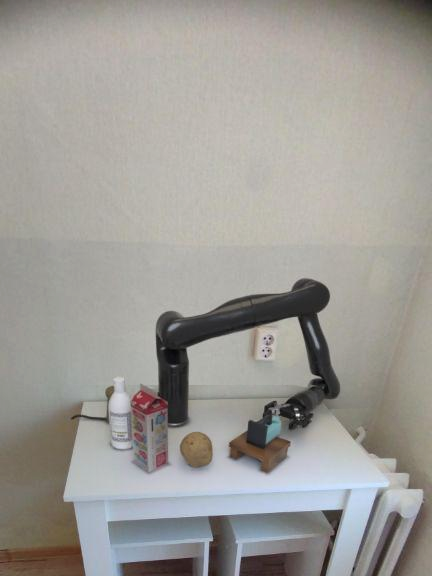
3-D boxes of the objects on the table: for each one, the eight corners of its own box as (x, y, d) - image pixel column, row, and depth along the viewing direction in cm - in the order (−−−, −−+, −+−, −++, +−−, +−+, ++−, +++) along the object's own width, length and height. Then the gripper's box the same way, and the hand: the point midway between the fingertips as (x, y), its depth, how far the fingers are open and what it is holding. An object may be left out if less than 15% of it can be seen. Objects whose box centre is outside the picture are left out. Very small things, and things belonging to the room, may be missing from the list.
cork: (121, 425, 143) (119, 392, 137) (103, 423, 144) (100, 390, 138) (128, 417, 148) (126, 385, 142) (110, 414, 149) (108, 382, 142)
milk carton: (152, 453, 130) (150, 380, 118) (168, 463, 127) (167, 389, 114) (133, 462, 127) (129, 386, 114) (148, 472, 123) (146, 395, 110)
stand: (250, 441, 139) (252, 426, 136) (288, 456, 133) (290, 441, 130) (227, 457, 131) (229, 442, 128) (267, 474, 125) (269, 458, 122)
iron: (267, 427, 137) (270, 405, 133) (284, 433, 134) (288, 411, 130) (246, 442, 129) (248, 419, 124) (263, 449, 126) (266, 426, 122)
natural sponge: (181, 455, 131) (181, 423, 125) (212, 457, 131) (214, 425, 125) (178, 472, 123) (178, 440, 118) (211, 475, 123) (213, 442, 118)
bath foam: (137, 448, 133) (134, 382, 121) (113, 451, 130) (108, 385, 119) (132, 436, 138) (129, 372, 126) (109, 439, 136) (103, 375, 124)
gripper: (283, 386, 146) (256, 403, 135) (325, 399, 139) (300, 418, 128) (280, 408, 150) (254, 426, 139) (320, 422, 144) (296, 441, 133)
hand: (276, 422), depth 134 cm, fingers open, 8 cm apart
